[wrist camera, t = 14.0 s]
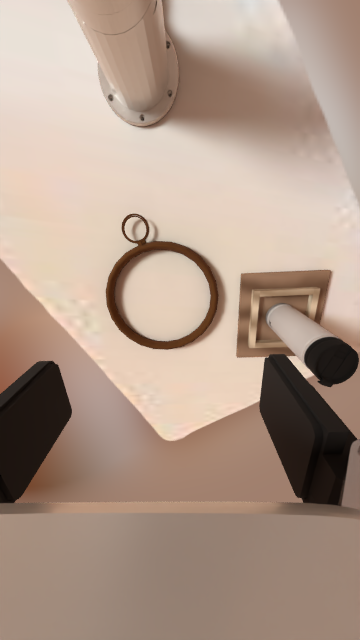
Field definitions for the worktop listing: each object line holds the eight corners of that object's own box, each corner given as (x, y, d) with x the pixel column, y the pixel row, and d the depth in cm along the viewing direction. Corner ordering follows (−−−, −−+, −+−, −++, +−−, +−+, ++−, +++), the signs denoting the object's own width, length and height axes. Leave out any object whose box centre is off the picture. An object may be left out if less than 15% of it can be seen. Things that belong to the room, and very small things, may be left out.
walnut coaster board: (241, 273, 46) (244, 275, 43) (327, 269, 45) (335, 271, 43) (236, 355, 53) (238, 360, 51) (310, 353, 52) (316, 358, 50)
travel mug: (259, 324, 49) (305, 380, 30) (274, 298, 46) (333, 341, 28) (283, 333, 49) (343, 393, 31) (299, 308, 47) (374, 356, 28)
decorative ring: (188, 187, 38) (232, 332, 48) (188, 190, 40) (229, 327, 51) (68, 237, 41) (132, 363, 52) (75, 237, 44) (135, 357, 54)
